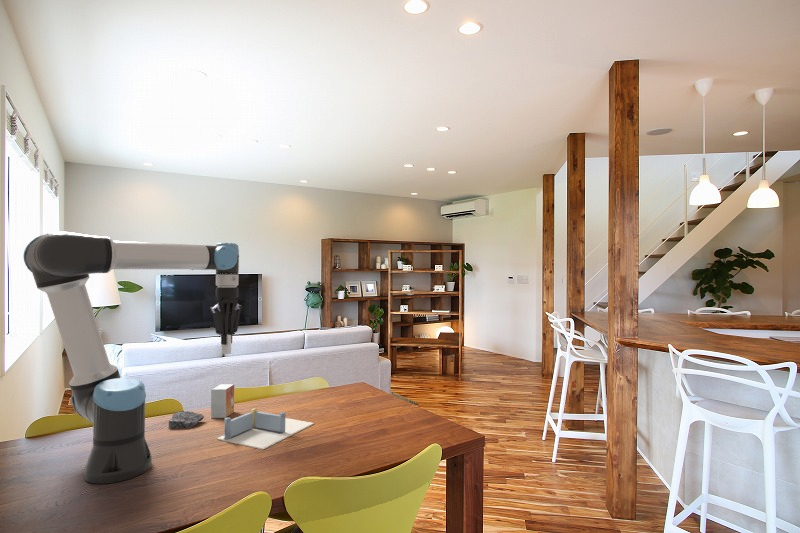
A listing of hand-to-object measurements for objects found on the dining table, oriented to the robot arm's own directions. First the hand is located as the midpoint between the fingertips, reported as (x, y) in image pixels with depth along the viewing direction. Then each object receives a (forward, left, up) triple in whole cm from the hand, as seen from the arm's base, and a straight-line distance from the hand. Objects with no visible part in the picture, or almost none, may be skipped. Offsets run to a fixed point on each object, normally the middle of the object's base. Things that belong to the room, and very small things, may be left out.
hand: (226, 353), depth 156 cm
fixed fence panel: (-6, -13, -24) cm, 28 cm away
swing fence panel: (0, -19, -24) cm, 30 cm away
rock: (-7, +12, -25) cm, 28 cm away
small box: (+6, +8, -25) cm, 27 cm away
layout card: (0, -19, -24) cm, 31 cm away
